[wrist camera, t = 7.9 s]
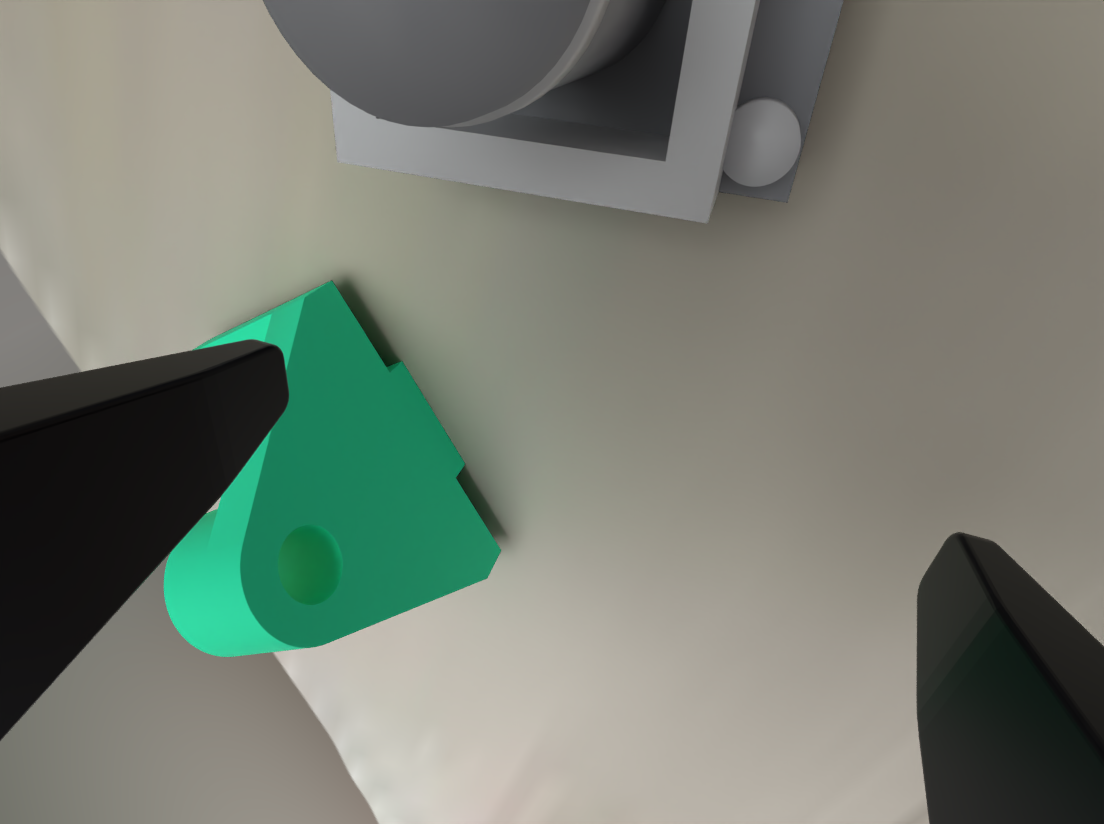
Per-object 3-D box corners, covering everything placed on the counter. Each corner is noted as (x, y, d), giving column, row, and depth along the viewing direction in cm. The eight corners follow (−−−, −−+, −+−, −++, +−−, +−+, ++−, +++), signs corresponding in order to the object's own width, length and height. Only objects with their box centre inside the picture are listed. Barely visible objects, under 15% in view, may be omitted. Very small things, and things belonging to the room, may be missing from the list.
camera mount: (212, 335, 26) (-57, 496, 18) (349, 269, 22) (93, 431, 14) (375, 558, 30) (221, 771, 22) (510, 532, 27) (388, 773, 19)
